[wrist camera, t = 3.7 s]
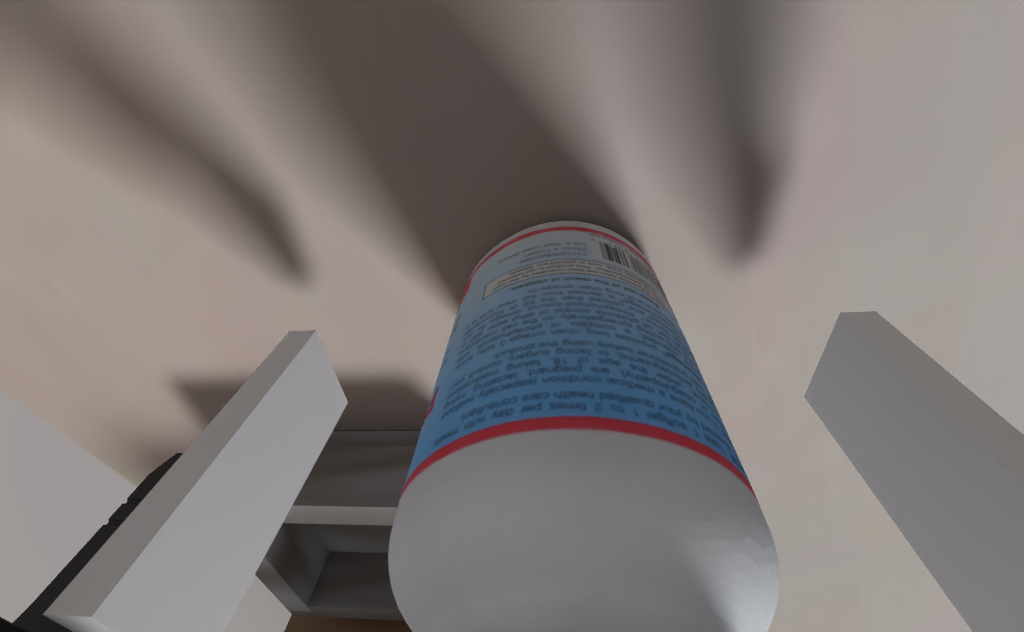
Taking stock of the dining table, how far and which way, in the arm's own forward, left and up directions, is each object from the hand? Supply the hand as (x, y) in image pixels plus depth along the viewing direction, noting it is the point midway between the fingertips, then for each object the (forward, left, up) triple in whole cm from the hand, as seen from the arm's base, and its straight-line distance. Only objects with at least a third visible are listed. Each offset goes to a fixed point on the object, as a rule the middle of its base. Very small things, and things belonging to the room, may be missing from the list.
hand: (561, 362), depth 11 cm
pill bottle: (0, 0, -3) cm, 3 cm away
